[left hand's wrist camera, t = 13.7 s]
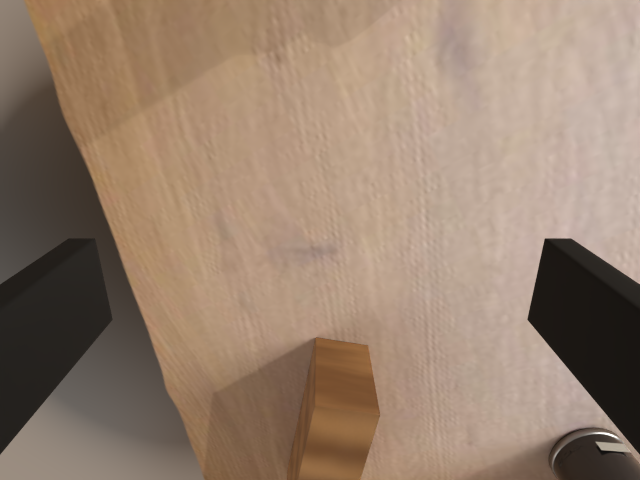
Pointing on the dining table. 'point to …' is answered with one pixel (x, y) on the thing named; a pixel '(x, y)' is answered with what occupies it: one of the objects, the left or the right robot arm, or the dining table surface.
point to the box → (335, 414)
